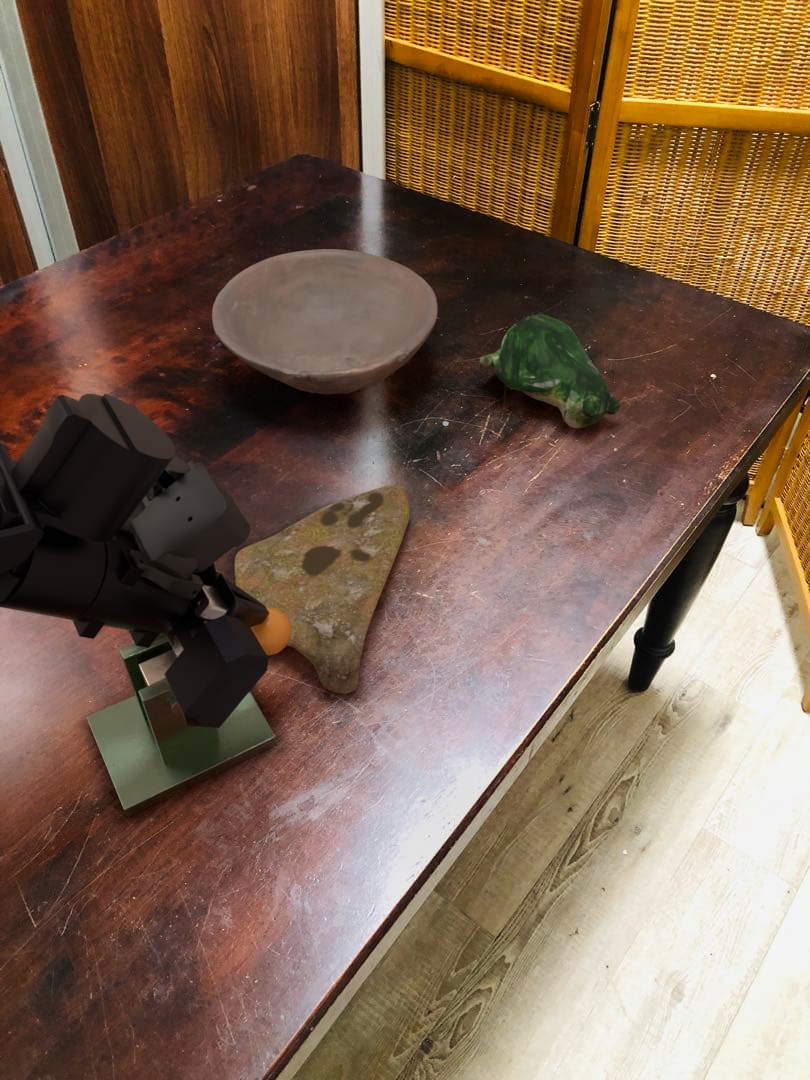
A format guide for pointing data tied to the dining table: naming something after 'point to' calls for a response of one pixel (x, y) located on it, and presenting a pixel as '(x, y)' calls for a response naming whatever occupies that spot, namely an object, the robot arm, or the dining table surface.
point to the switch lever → (268, 633)
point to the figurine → (552, 370)
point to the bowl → (325, 318)
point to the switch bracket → (168, 738)
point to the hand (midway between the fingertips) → (264, 614)
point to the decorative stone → (329, 577)
